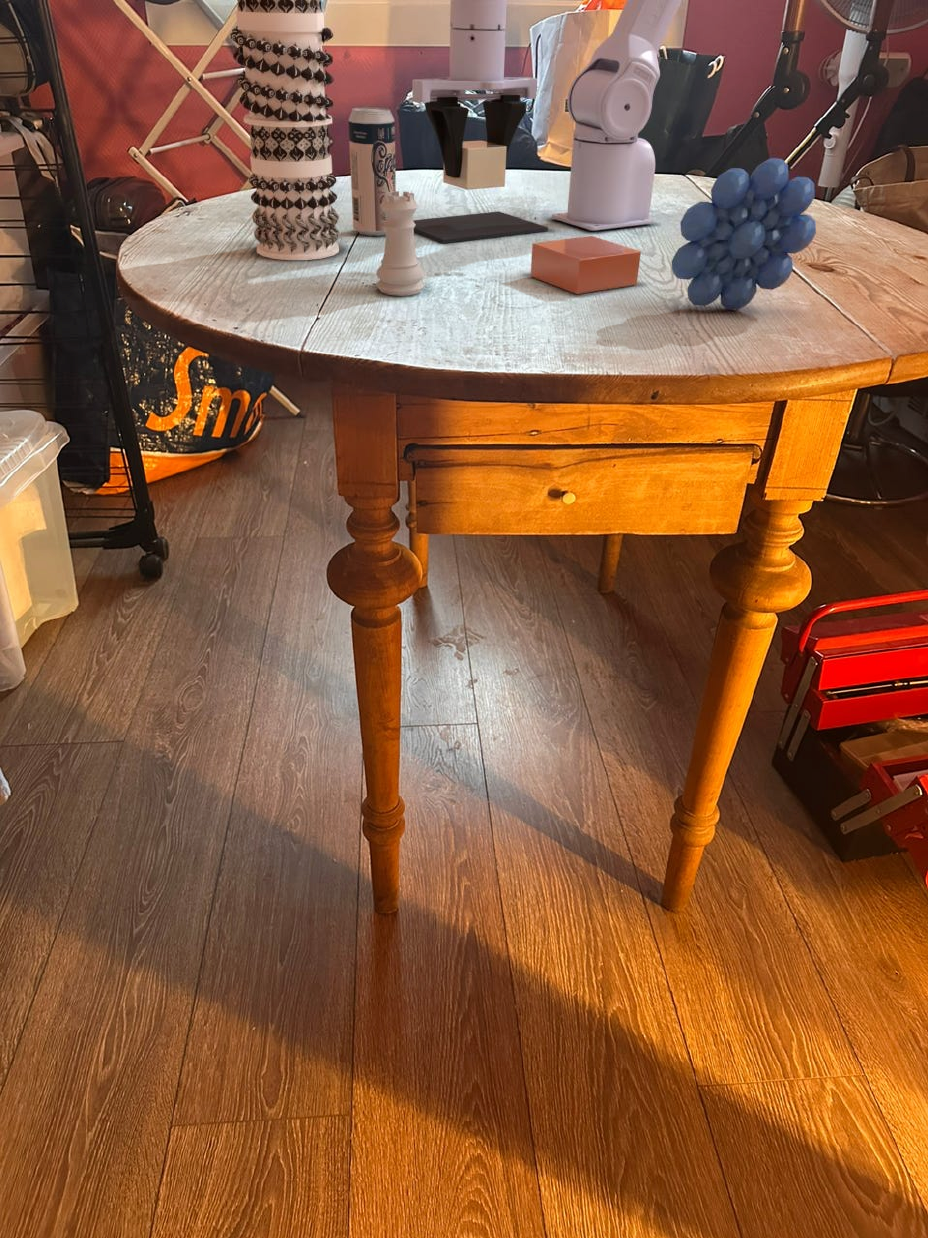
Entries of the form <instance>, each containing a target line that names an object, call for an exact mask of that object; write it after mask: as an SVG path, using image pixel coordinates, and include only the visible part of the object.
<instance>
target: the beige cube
mask: <svg viewBox="0 0 928 1238" xmlns="http://www.w3.org/2000/svg"><path fill="white" fill-rule="evenodd" d="M506 148H507V147H506V146H502V145H498V144H494V143H489V142H487V141H485V140H469V141H463V148H462V168H461V175H460V178H453V177H450V176H447V175H446V173H445V167H444V162H442V163H443V164H442V165H443V167H442V168H443V169H442V170H443V171H442V172H443V174H442V179H443V180H442V183H444V184H447V185H450V186H454V187H457V188H460V189H463V190H466V191H470V190H480V189H493V188H502V187H505V186H506V170H507V169H506V168H507V157H506Z"/></svg>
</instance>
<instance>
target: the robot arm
mask: <svg viewBox="0 0 928 1238" xmlns="http://www.w3.org/2000/svg"><path fill="white" fill-rule="evenodd" d="M682 2H683V0H626V1H625V4H624V6H623V8H622V10H621V13H620V15H619V17H618V19H617V21H616V24H615V26H614V27H613V30H612V32H611V34H609V36H608V37H607V38H606V39H605V40H604V41H603V42H602V43H601V44H600V45H599V46H598V47H597V48H596V49H595V50H594V52H593V54H592V56H591V58H590V61H589V63H588V64H587V65H586V67H584V69H583V70H582V71H580V73H578V74H577V76H576V77H575V78H574V79H573V81H572V83H571V84H570V86H569V89H568V92H567V100H566V101H567V102H566V103H567V105H566V106H567V110H568V114H569V116H570V118H571V119H572V121H573V123H575V127H574V131H573V138H572V153H571V163H570V174H569V175H570V176H569V188H568V201H567V212H558V213H552V214H551V219H553V220H555V221H559V222H562V223H566V224H569V225H571V226H575V227H578V228H582V229H585V230H588V231H601V230H611V229H617V228H619V229H620V228H627V227H635V226H643V225H650V224H651V225H652V224H653V223H654V219H653V218H650V214H651V213H650V212H651V204H652V196H653V188H654V180H655V173H656V157H655V152H654V149H653V147H652V145H651V144H650V142H649V141H647V140H646V139H644V138H641V137H639V133H640V132H641V131H642V130H643V129H644V127H645V126H646V124H647V123H648V122H649V120H650V116H651V114H652V109H653V99H654V97H653V96H654V91H655V90H656V87H657V84H658V81H659V80H660V77H661V70H660V64H659V59H658V53H659V51H660V48H661V47H662V45H663V42H664V40H665V37H666V36H667V33H668V31H669V29H670V27H671V26H672V24H673V21H674V18H675V16H676V14H677V12H678V10H679V8H680V6H681V4H682ZM507 4H508V0H450V8H449V9H450V11H449V12H450V15H449V16H450V18H449V19H450V20H449V21H450V22H449V28H450V29H449V77H447V76H446V77H435V78H420V79H417V78H416V79H412V81H411V83H412V84H411V86H412V87H411V88H412V95H411V96H412V97H411V98H412V102H416V103H417V102H418V103H422V104H423V103H424V110H425V112H426V115H427V117H428V118H429V120H430V123H431V125H432V128H433V130H434V133H435V135H436V138H437V141H438V144H439V148H440V152H441V156H442V161H443V162H442V163H444V167H445V173H446V175H447V176H450V177H453V178H460V175H461V168H462V148H463V142H464V137H465V130H466V125H467V120H468V116H469V113H470V109H469V108H468V107H464V106H462V105H461V102H459V101H482V100H483V102H482V106H483V112H484V119H485V128H486V142H489V143H494V144H498V145H502V146H506V147H507V148H506V158H507V156H508V153H509V149H510V147H511V143H512V141H513V138H514V135H515V134H516V132H517V129H518V127H519V126H520V124H521V121H522V120H523V118H524V116H525V114H526V113H527V107H528V106H527V105H528V104H527V101H522V100H521V99H529V100H533V99H537V94H538V93H537V91H538V78H536V77H531V76H505V58H506V57H505V56H506V33H507V32H506V31H507V30H506V29H507V8H508V7H507V6H508V5H507ZM466 91H486V92H488V93H467V92H466ZM489 92H491V93H489Z"/></svg>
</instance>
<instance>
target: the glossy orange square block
mask: <svg viewBox="0 0 928 1238" xmlns="http://www.w3.org/2000/svg"><path fill="white" fill-rule="evenodd" d="M641 255H642V252H641V250H637V249H634V248H631V247H628V246H625V245H621V244H619V243H616V242H612V241H609V240H606V239H603V238H600V237H597V236H594V235H588V236H581V237H579V236H578V237H572V238H564V239H556V240H555V239H554V240H549V241H541V242H533V243H532V246H531V259H530V260H531V262H530V275H529V276H530V277H532V278H535V279H537V280H539V281H542V282H545V283H547V284H549V285H552V286H555V287H557V288H560V289H562V290H565V291H567V292H570V293H572V294H574V295H581V294H588V293H594V292H600V291H606V290H613V289H619V288H624V287H631V286H636V285H638V280H639V279H638V278H639V270H640V263H641V262H640V261H641Z"/></svg>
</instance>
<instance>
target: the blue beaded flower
mask: <svg viewBox="0 0 928 1238" xmlns="http://www.w3.org/2000/svg"><path fill="white" fill-rule="evenodd" d="M788 180H789V165H788V163H787V162H786V161H784V160H783V159H782V158H778V157H770V158H768V159H766V160H765V161H763V162H761V163H760V164H758V165H757V166H756V167H755V169H754V170H753V171H752V174H751V176H750V175H749V173H748V172H747V171H746V170H744V169H742V168H740V167H739V168H737V167H731V168H729V169H728V170H726V171H725V172H723V173H721V174H719V175H718V176H717V178H716V180H715V181H714V182H713V185H712V187H711V189H710V195H711V202H710V201H699V202H696V203H695V204H693V205H692V206H690V207H689V208H687V210H686V211H685V213H684V215H683V217H682V218H681V220H680V222H679V223H680V224H679V225H680V234H681V236H682V237H683V239H684V240H685V241H688V242H686V243H685V244H682V246H680V247H679V248H677V250H676V252H675V254H674V256H673V258H672V259H671V271H672V275H674V276H675V277H676V278H677V279H680V280H686V281H687V280H688V281H690V282H689V284H688V286H687V298H688V301H689V302H690V303H691V304H692V306H699V307H701V306H702V307H707V306H708V305H711V304H712V303H714V302H715V301H716V300H718V298H719V297H720V304H721V305H722V307H724V309H726V310H734V311H738V310H741V309H744V308H745V307H746V306H747V305H749V304H750V303H751V302H752V301H753V299H754V297H755V295H756V293H757V291H758V290H757V289H758V288H757V286H758V287H759V288H760V289H762V290H770V291H773V290H776V289H777V288H779V287H781V286H783V285H784V284H785V283H786V282H787V281H788V279H789V278H790V277H791V274H792V273H793V266H794V265H793V258H792V256H790V254H793V255H795V254H798V253H800V252H801V251H803V250H805V249H806V248H807V247H808V246H809V245H810V244H811V243H812V242H813V240H814V238H815V235H816V234H817V233H816V232H817V226H816V220H815V219H814V218H813V216H811V215H810V214H804V213H805V212H806V211H807V210H808V208H809V207H810V206H811V205H812V203H813V201H814V199H815V193H816V190H815V183H814V181H812V180H811V179H810V178H809V177H807V176H796V177H794V178H792V179H790V180H789V181H788Z"/></svg>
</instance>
